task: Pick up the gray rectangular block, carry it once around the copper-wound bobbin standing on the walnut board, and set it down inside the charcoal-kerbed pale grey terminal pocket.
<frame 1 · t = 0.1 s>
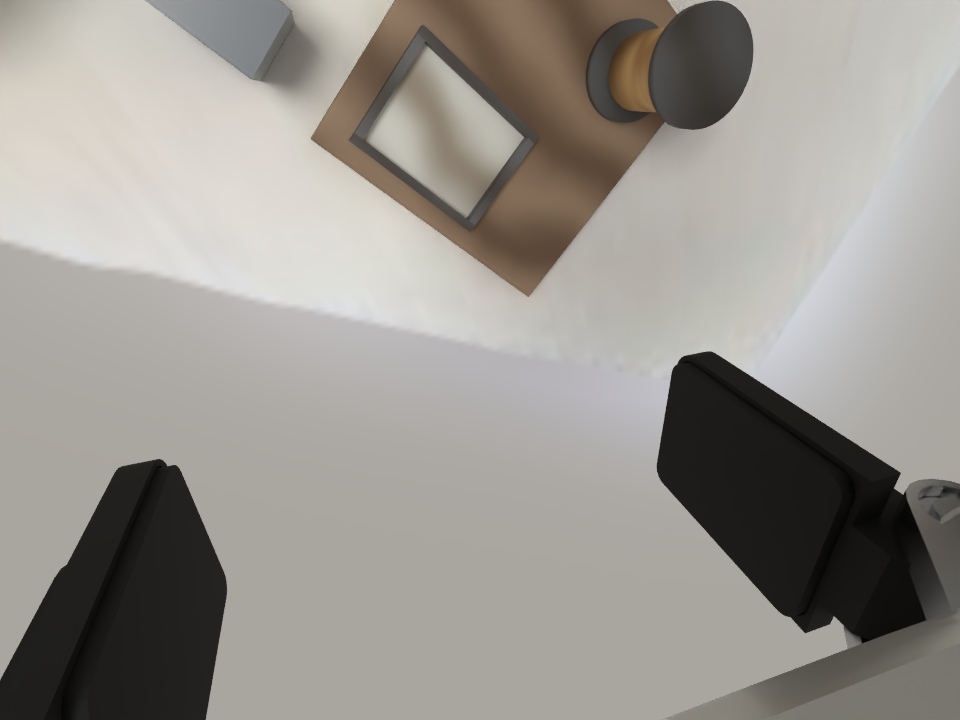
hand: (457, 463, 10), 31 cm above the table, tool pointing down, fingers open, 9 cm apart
winding board: (518, 97, 36), on the table
gray rectangular block: (229, 14, 30), on the table
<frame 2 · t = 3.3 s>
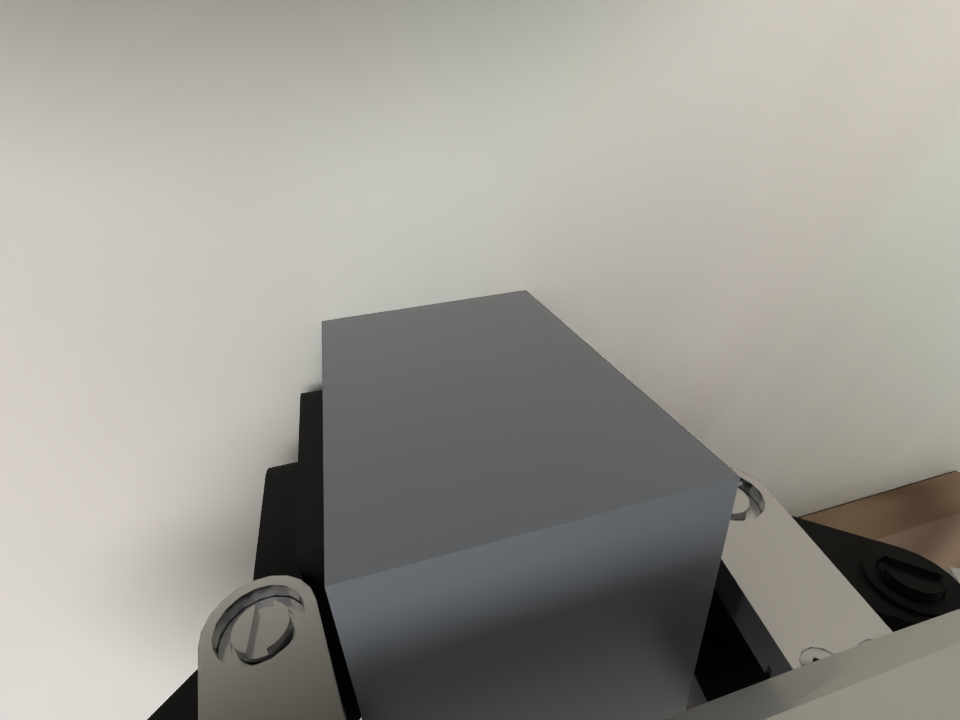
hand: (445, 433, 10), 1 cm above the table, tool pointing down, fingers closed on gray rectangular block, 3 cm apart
winding board: (661, 714, 21), on the table
gray rectangular block: (442, 432, 11), on the table, touching gripper
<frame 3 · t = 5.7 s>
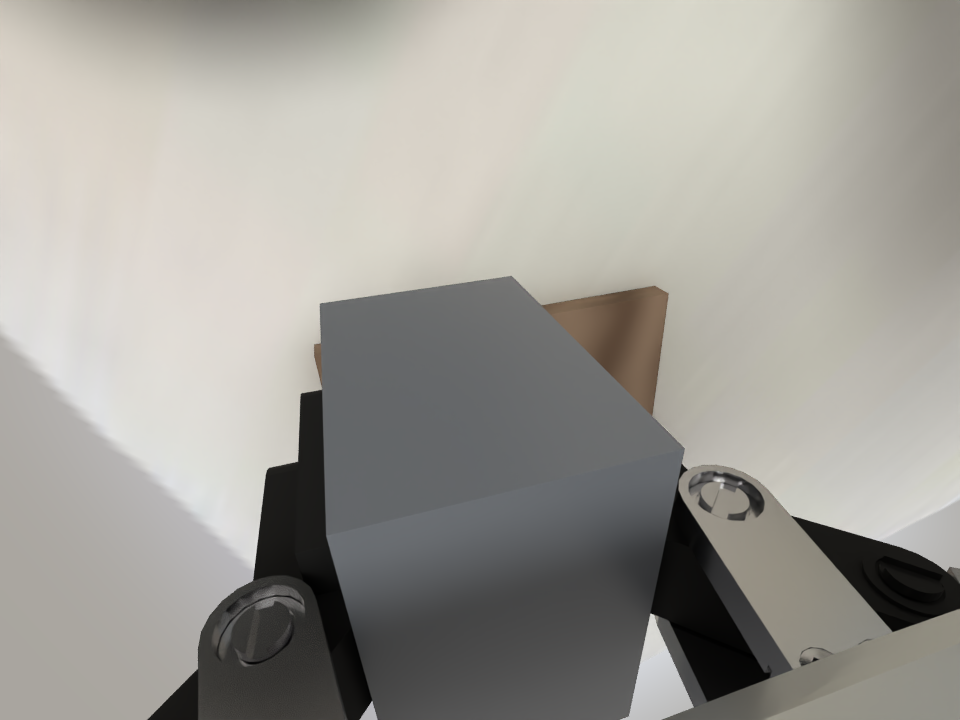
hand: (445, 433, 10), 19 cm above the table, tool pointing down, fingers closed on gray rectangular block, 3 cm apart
winding board: (503, 441, 36), on the table
gray rectangular block: (432, 408, 12), point 17 cm above the table, touching gripper
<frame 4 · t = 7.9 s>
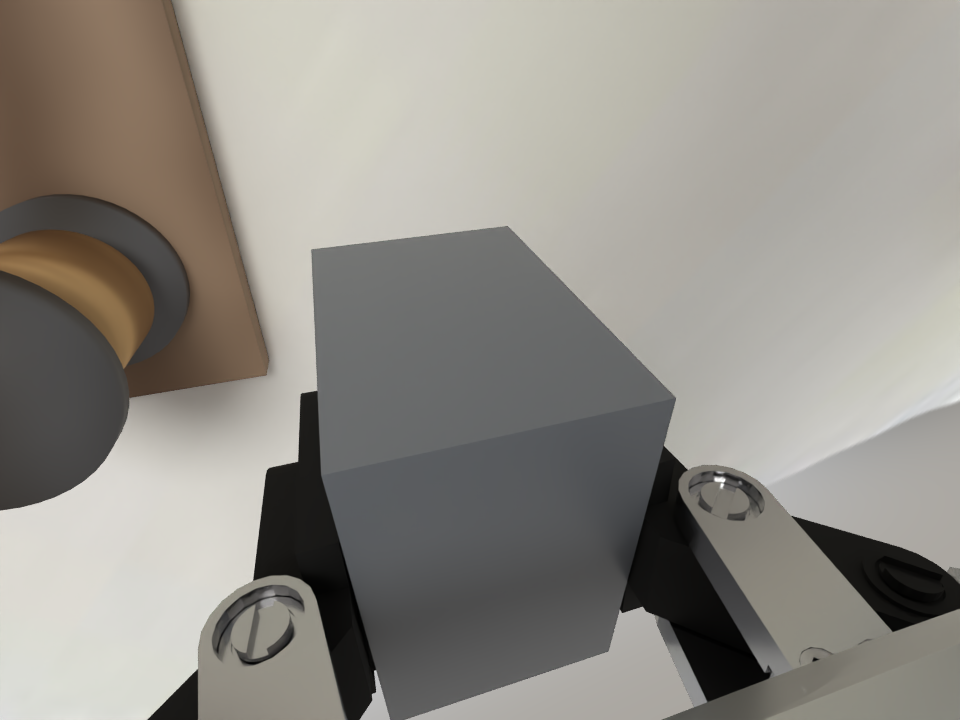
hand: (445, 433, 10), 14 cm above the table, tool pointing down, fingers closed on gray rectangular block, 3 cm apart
gray rectangular block: (425, 359, 12), point 12 cm above the table, tilted 6°, touching gripper
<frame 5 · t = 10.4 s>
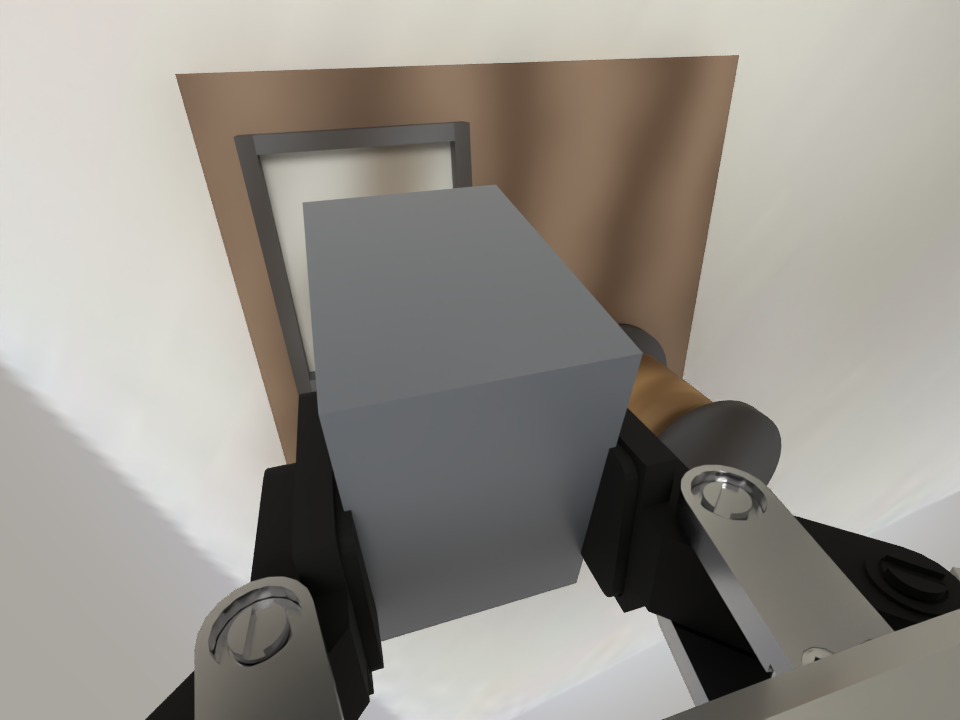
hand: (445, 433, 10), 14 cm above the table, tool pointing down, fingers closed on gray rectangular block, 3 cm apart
winding board: (491, 298, 25), on the table
gray rectangular block: (413, 313, 12), point 11 cm above the table, tilted 12°, touching gripper
when the fingers open (4 cm above the table, at t = 12.6 s): gray rectangular block stays where it is, resting on winding board.
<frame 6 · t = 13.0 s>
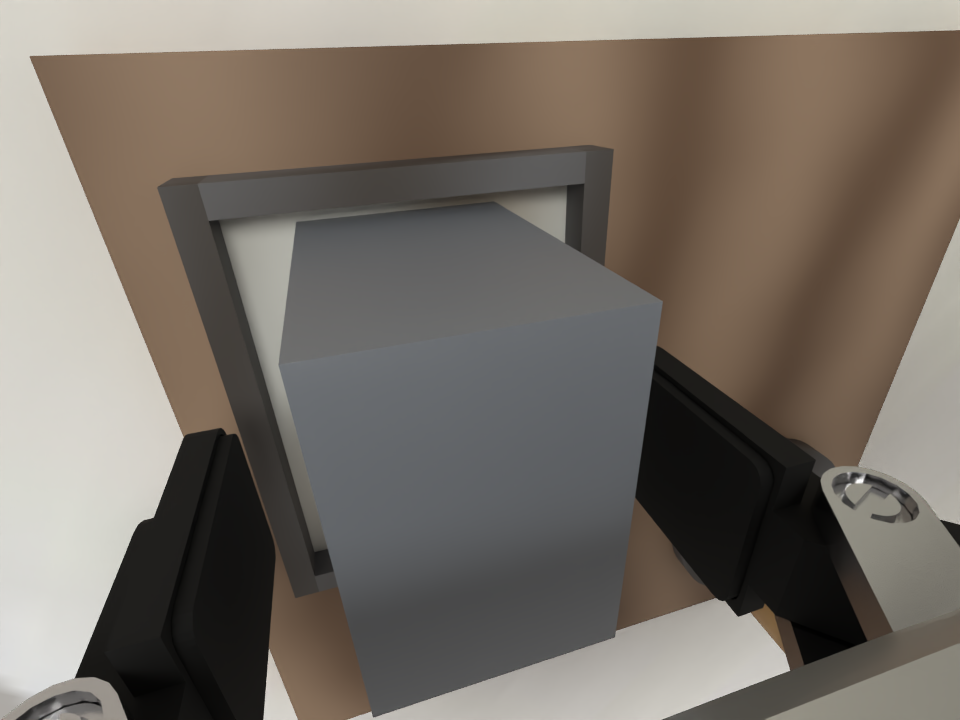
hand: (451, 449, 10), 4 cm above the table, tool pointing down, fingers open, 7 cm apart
winding board: (591, 407, 16), on the table
gray rectangular block: (415, 343, 12), point 2 cm above the table, touching winding board
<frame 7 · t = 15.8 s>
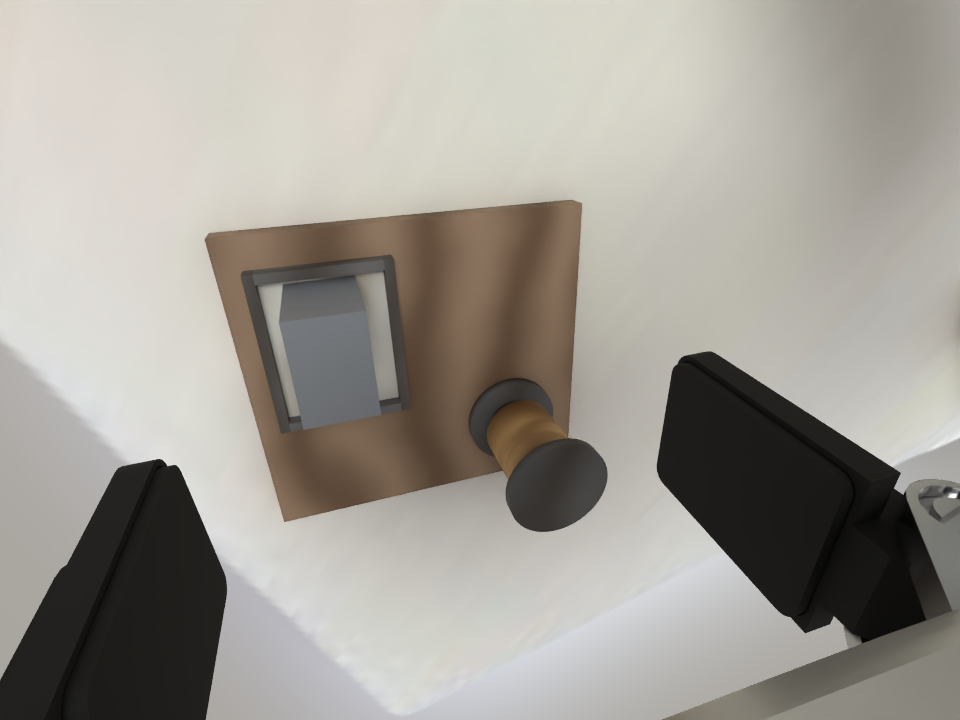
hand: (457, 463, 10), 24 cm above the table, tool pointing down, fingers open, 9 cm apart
winding board: (420, 361, 35), on the table
gray rectangular block: (328, 327, 30), point 2 cm above the table, touching winding board
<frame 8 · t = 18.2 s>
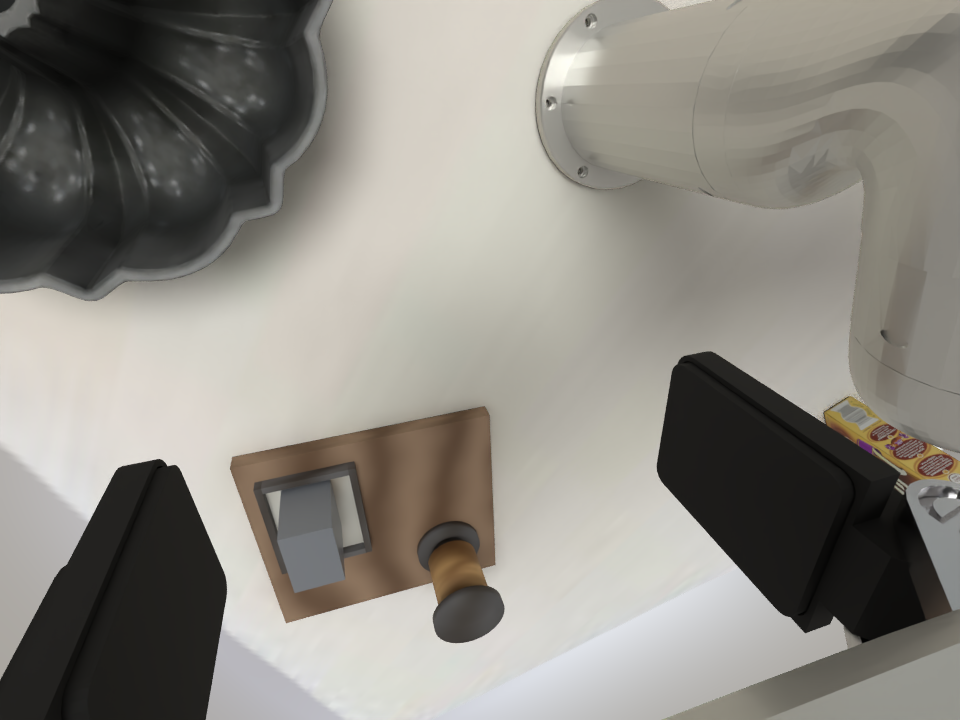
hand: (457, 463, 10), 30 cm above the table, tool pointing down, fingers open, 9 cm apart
candy box: (836, 425, 65), on the table
winding board: (381, 512, 49), on the table
bundt pan: (74, 6, 27), on the table
gray rectangular block: (312, 507, 44), point 2 cm above the table, touching winding board
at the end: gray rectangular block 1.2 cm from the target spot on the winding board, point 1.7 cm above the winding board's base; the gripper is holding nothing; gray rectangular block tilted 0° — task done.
